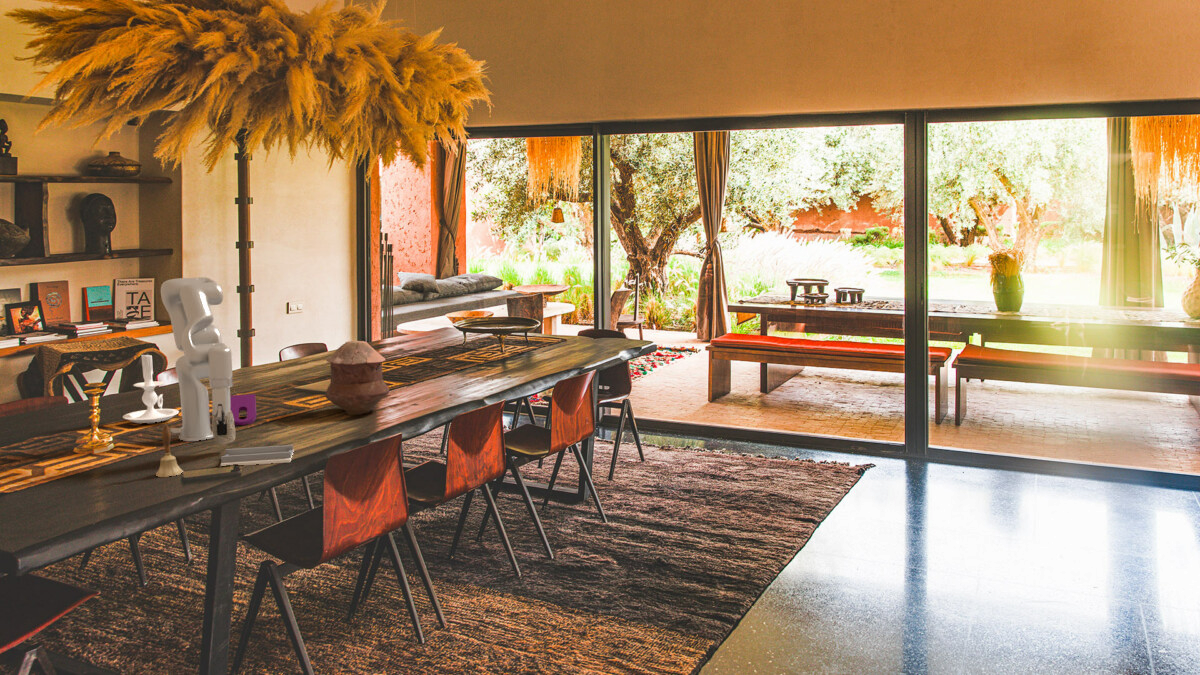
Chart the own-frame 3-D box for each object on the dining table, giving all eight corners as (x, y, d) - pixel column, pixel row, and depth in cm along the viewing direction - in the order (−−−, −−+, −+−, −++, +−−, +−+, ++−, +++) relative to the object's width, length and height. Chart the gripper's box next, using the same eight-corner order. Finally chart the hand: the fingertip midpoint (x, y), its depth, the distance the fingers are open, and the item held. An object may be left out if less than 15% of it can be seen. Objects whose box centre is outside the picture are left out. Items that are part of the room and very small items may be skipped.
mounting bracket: (256, 437, 375) (256, 410, 389) (255, 420, 371) (255, 394, 385) (231, 439, 372) (232, 412, 386) (229, 422, 368) (230, 395, 382)
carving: (212, 442, 329) (210, 408, 327) (235, 440, 332) (233, 407, 330) (212, 446, 324) (211, 413, 322) (236, 444, 327) (234, 411, 325)
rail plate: (220, 467, 309) (220, 458, 309) (227, 456, 323) (226, 448, 323) (290, 462, 314) (289, 453, 314) (293, 451, 328) (293, 443, 328)
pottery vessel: (315, 417, 382) (311, 345, 378) (342, 405, 407) (339, 336, 403) (375, 419, 378) (371, 346, 374) (398, 406, 403) (395, 337, 399)
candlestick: (189, 413, 394) (184, 347, 390) (170, 426, 370) (164, 356, 366) (137, 415, 391) (132, 349, 388) (115, 428, 367) (109, 358, 363)
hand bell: (149, 476, 300) (145, 427, 298) (169, 469, 307) (165, 422, 305) (169, 478, 297) (165, 429, 295) (189, 471, 304) (185, 423, 302)
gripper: (213, 377, 332) (216, 426, 335) (205, 388, 315) (208, 439, 318) (236, 376, 333) (238, 425, 336) (229, 387, 317) (231, 438, 320)
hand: (223, 431), depth 327 cm, fingers closed on carving, 6 cm apart
